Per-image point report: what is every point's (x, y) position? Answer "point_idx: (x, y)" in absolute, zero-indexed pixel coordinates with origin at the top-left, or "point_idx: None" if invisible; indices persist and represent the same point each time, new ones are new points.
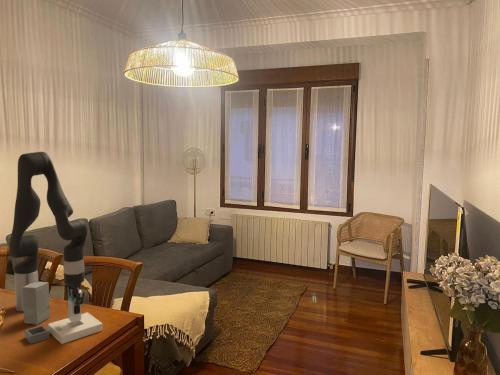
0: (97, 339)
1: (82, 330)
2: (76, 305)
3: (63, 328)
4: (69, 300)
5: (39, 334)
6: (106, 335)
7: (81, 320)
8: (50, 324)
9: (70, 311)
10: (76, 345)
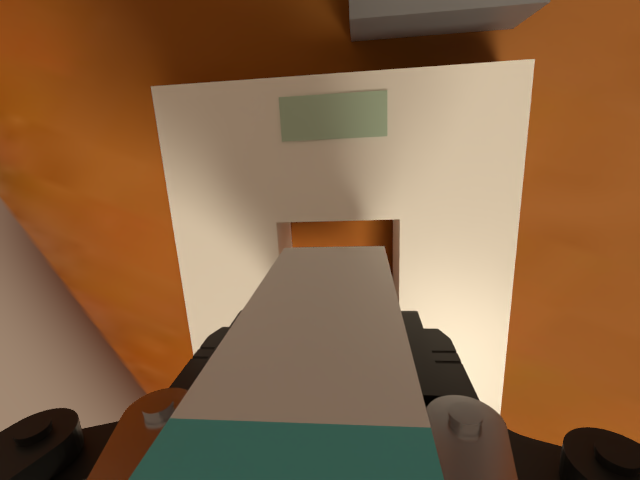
0: (123, 316)
1: (182, 276)
2: (36, 414)
3: (308, 158)
4: (325, 418)
5: None
6: (146, 377)
7: None
8: (495, 77)
9: (307, 291)
10: (111, 179)
